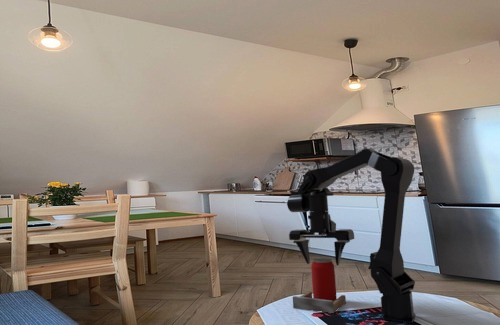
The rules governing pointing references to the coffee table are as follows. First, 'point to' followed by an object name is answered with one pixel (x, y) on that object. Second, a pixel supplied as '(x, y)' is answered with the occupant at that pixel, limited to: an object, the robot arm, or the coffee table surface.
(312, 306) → the guide channel
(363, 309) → the coffee table surface
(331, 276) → the beverage can
